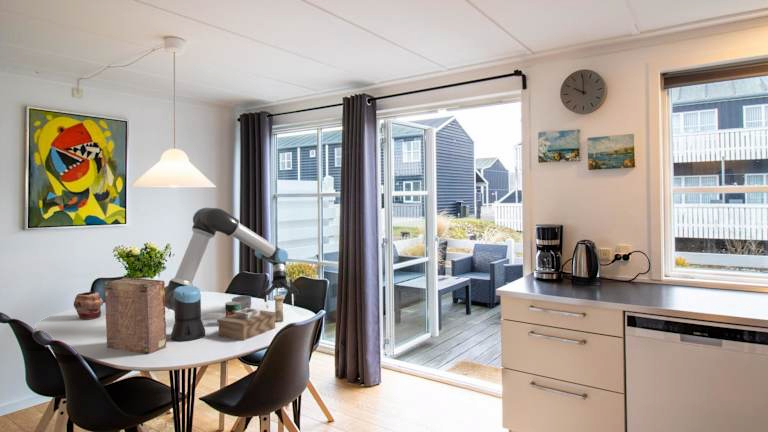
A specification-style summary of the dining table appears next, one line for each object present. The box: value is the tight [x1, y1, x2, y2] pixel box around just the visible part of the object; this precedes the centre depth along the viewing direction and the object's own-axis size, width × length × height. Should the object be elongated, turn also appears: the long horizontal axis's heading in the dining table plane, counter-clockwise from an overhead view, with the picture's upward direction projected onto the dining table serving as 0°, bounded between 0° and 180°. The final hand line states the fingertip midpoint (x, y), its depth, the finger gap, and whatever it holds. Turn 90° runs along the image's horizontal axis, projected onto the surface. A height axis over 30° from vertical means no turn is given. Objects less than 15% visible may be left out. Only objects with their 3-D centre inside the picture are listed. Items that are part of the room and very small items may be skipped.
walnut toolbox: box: [216, 308, 276, 341], centre depth 229 cm, size 23×17×10 cm
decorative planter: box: [73, 291, 104, 320], centre depth 257 cm, size 20×12×14 cm, turn 72°
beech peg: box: [273, 294, 285, 323], centre depth 248 cm, size 6×6×14 cm
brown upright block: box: [104, 277, 167, 355], centre depth 206 cm, size 25×9×30 cm, turn 69°
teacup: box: [231, 295, 252, 310], centre depth 272 cm, size 14×11×8 cm
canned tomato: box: [224, 300, 241, 317], centre depth 244 cm, size 8×8×11 cm
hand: (280, 305), depth 253 cm, fingers open, 13 cm apart
